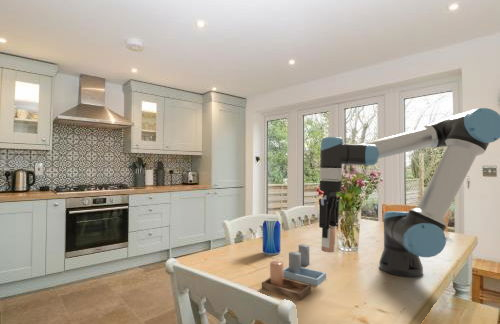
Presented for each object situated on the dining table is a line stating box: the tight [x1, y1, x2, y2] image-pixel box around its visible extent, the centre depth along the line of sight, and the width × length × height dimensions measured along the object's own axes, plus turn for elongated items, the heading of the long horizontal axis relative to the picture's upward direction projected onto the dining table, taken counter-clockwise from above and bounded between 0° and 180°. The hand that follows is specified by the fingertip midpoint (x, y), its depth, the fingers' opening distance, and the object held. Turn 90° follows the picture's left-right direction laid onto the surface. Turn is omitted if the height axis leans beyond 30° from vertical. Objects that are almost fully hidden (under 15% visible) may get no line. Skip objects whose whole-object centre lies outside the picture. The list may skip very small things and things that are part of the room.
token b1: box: [288, 251, 302, 275], centre depth 103 cm, size 4×4×8 cm
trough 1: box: [261, 277, 312, 302], centre depth 91 cm, size 14×8×2 cm, turn 53°
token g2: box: [298, 243, 310, 267], centre depth 115 cm, size 4×4×8 cm
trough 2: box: [283, 266, 327, 287], centre depth 101 cm, size 14×8×2 cm, turn 53°
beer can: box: [262, 217, 282, 257], centre depth 131 cm, size 8×8×16 cm
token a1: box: [269, 260, 284, 288], centre depth 93 cm, size 4×4×8 cm
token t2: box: [321, 227, 336, 253], centre depth 100 cm, size 4×4×8 cm
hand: (328, 245), depth 100 cm, fingers closed on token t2, 4 cm apart
